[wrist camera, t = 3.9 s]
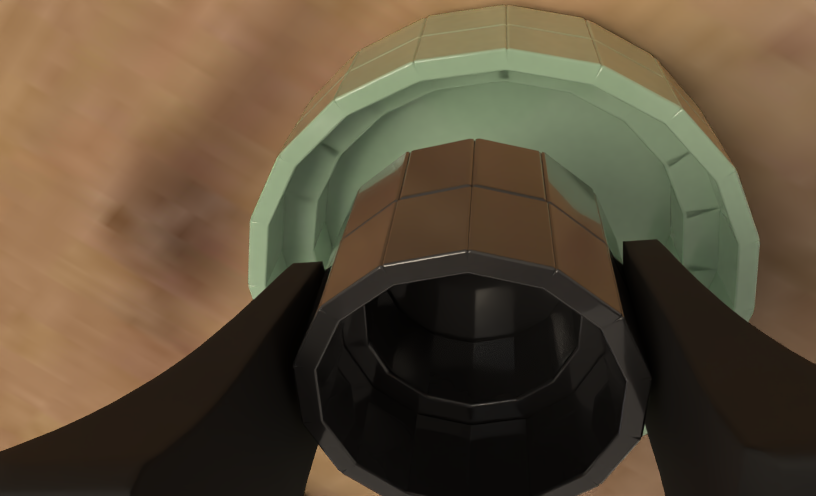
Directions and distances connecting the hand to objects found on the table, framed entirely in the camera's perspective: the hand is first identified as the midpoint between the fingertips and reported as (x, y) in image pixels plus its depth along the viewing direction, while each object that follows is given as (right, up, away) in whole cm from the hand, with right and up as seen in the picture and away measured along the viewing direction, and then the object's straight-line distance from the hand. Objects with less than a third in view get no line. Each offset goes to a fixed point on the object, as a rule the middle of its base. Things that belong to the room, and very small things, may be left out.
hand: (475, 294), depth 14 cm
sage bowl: (+1, +2, +9) cm, 9 cm away
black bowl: (0, +1, +1) cm, 1 cm away
